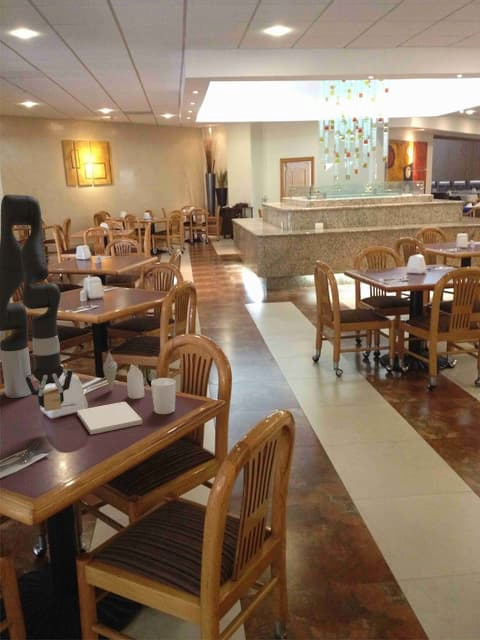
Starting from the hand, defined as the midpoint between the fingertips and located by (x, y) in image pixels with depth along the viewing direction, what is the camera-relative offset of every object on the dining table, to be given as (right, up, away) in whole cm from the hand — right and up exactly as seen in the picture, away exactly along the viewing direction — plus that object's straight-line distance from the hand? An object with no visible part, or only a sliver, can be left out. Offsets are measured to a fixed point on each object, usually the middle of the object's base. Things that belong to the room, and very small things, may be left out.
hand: (51, 404), depth 172 cm
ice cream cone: (+10, 0, +36) cm, 37 cm away
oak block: (0, -1, 0) cm, 1 cm away
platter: (+15, -6, +9) cm, 19 cm away
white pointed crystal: (+20, -2, +30) cm, 36 cm away
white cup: (+32, -4, +16) cm, 36 cm away
